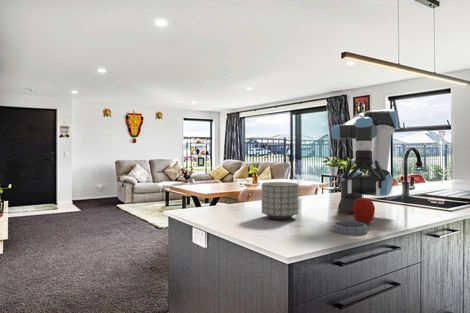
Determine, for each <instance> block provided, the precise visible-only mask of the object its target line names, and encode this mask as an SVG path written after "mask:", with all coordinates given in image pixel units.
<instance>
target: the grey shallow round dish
mask: <svg viewBox="0 0 470 313" xmlns="http://www.w3.org/2000/svg"><path fill="white" fill-rule="evenodd" d="M332 229H333V230H332V231H333V232H335V233H338V234H342V235H348V236H349V235H350V236H357V235H359V236H361V235H366V234H367V233H368V224H365V223H361V222H357V221H356V220H355V221H354V220H338V221H337V220H336V221H334V222H332Z"/></svg>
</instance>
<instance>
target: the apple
mask: <svg viewBox="0 0 470 313" xmlns="http://www.w3.org/2000/svg"><path fill="white" fill-rule="evenodd" d="M375 210H376V207H375V204H374V202H373V200H372V199H370V198H368V197H365V195H362V198H357V199H356V200H355V201H354V204H353V214H354V215H353V217H354V220H355V222H361V223H365V224H366V225H368V224H370V223H371V222H373V219H374V217H375Z"/></svg>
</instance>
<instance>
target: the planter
mask: <svg viewBox="0 0 470 313" xmlns="http://www.w3.org/2000/svg"><path fill="white" fill-rule="evenodd" d="M261 214H263V215H266V216H267V217H269V218H270V219H273V220H279V221H284V220H288V219H291V218H292V217H294V216H296V215H299V183H298V182H287V181H270V182H269V181H268V182H262V183H261Z"/></svg>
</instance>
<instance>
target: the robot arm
mask: <svg viewBox="0 0 470 313" xmlns="http://www.w3.org/2000/svg"><path fill="white" fill-rule="evenodd" d="M398 129H399V119H398V113H397V111H396V110H395V109H393V108H392V109H388V108H387V109H378V110H377V109H376V110H366V111H362V112H359V113H357V114H356V115H354V116H352V118H351V119H349V120H347V121H346V122H344V123H343V124H336V125H332V127H331V133H330V134H331V137H332V139H333V140H355V156H354V157H355V159H349V160H348V163H347V164H348V165H347V166H346V168H345V170H344V172H343V173H342V174H341V176H340V200H339V203H338V206H337V212H338V213H339V214H344V215H353V216H354V214H353V204H354V201H355V200H356V199H357V198H363V196H377V197H387V196H389V195H390V194H391V192H392V188H393V185H394V184H393V182H394V178H393V175H391V172H390V171H389V170H388V169H389V168H388V167H389V158H390V151H391V150H390V149H391V143H392V142H391V141H392V135H394V133H395V131H396V130H398ZM373 139H374V140H373ZM354 165H355V166H354ZM353 166H354V168H353ZM352 168H353V169H352ZM351 169H352V170H351ZM359 170H367V173H363V171H359ZM350 171H351V172H350Z"/></svg>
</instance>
